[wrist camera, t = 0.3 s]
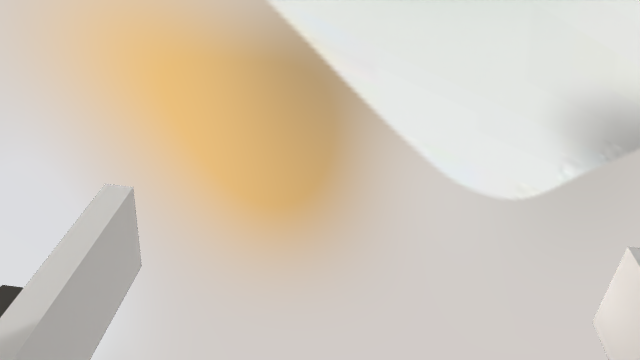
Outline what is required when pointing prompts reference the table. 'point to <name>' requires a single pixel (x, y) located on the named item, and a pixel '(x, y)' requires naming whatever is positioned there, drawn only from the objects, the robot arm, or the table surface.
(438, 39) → the table surface
